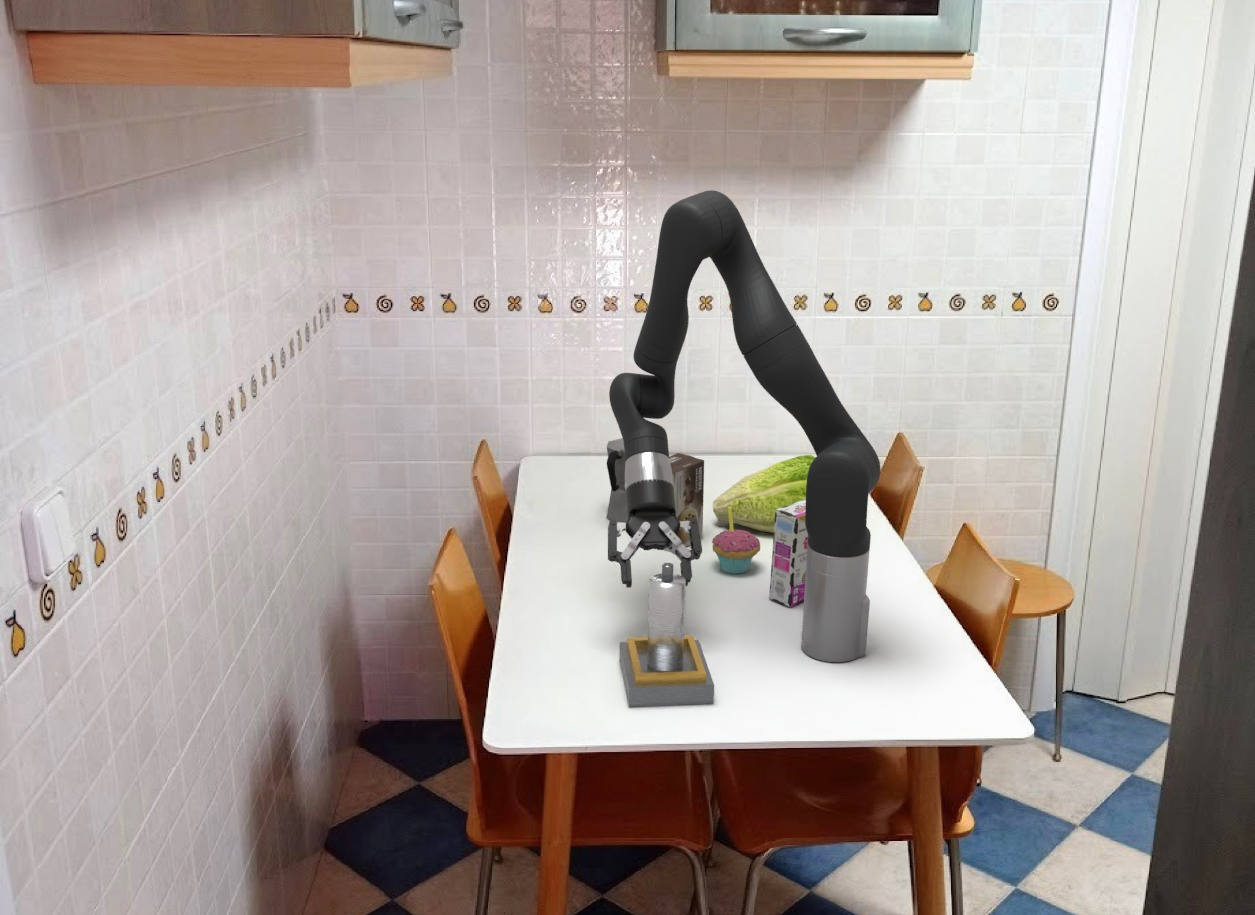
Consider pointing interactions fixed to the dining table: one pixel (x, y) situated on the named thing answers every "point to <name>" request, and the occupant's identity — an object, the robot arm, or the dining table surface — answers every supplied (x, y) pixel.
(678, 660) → the spout can
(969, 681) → the dining table surface
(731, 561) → the cupcake
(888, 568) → the dining table surface
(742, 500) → the lettuce
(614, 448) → the coffeepot
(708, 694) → the grey square tray
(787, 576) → the candy bar box
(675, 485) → the coffee box
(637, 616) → the dining table surface
